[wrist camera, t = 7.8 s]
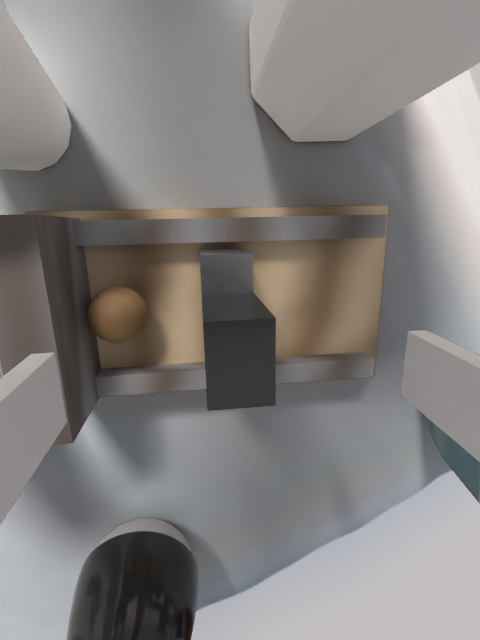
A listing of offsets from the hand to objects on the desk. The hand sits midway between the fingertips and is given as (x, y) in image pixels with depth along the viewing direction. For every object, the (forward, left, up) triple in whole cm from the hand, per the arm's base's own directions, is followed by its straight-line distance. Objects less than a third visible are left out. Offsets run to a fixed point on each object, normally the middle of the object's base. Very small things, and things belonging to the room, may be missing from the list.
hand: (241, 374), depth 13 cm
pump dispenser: (+24, -8, -16) cm, 30 cm away
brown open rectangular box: (0, 0, -16) cm, 16 cm away
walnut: (0, -7, -12) cm, 14 cm away
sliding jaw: (0, 0, -14) cm, 14 cm away
